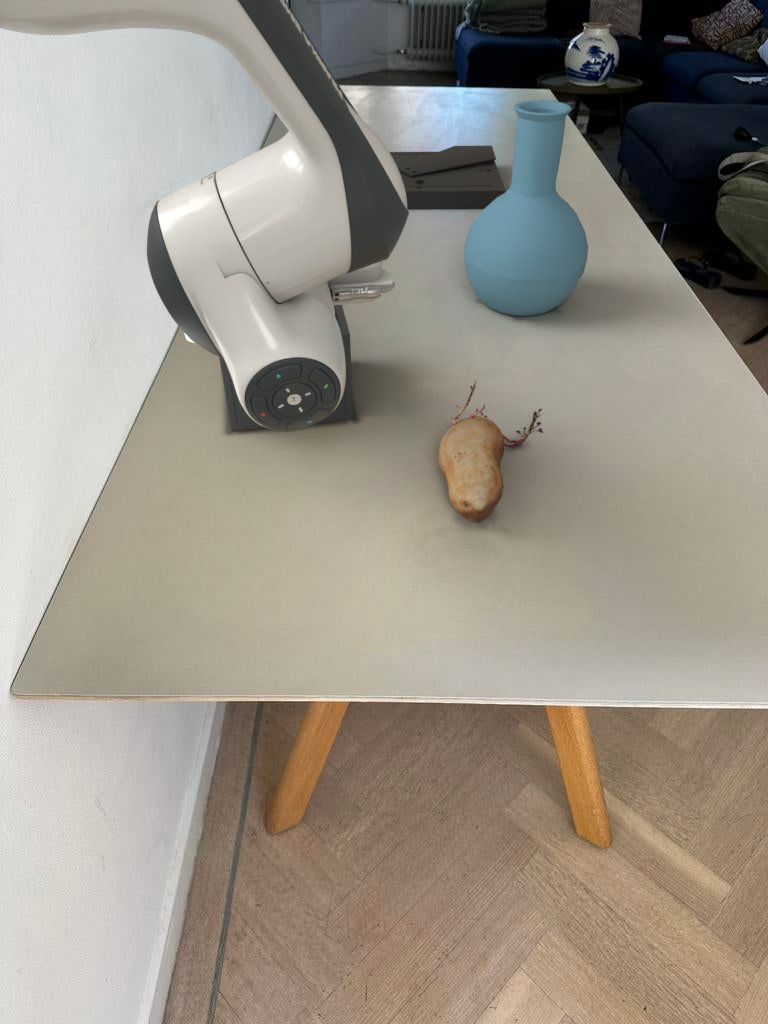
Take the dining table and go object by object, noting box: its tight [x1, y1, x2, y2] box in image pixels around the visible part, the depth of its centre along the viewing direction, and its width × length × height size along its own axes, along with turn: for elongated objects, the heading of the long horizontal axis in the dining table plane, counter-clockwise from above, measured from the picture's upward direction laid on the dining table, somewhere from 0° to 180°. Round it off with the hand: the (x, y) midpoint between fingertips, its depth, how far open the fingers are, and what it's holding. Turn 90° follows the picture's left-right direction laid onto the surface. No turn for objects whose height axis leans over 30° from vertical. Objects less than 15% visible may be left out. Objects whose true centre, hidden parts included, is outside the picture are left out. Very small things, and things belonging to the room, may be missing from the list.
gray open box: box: [218, 305, 354, 432], centre depth 86 cm, size 14×14×11 cm
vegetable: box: [437, 380, 544, 523], centre depth 74 cm, size 16×11×10 cm
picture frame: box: [389, 145, 507, 210], centre depth 143 cm, size 23×4×28 cm
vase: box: [463, 99, 589, 317], centre depth 100 cm, size 16×17×25 cm
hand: (271, 240), depth 76 cm, fingers open, 8 cm apart
